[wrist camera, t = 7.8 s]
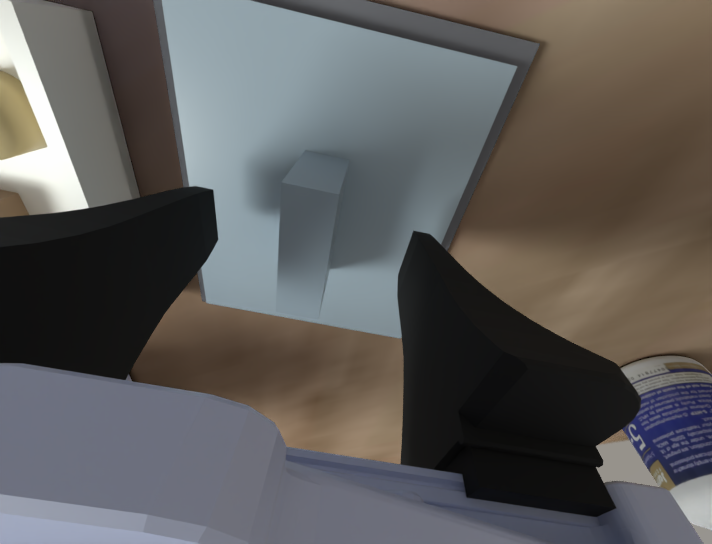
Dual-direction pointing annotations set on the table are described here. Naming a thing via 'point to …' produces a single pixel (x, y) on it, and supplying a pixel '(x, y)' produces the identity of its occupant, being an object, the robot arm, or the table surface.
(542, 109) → the table surface
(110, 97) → the storage box
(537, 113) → the table surface
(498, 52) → the mat
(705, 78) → the table surface
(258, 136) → the lid
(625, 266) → the table surface
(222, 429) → the robot arm
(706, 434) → the pill bottle
